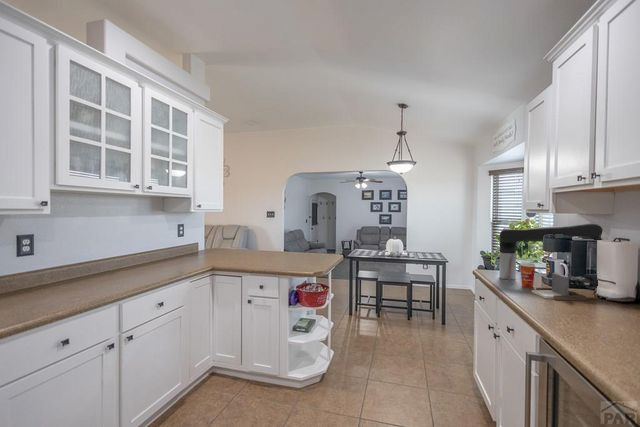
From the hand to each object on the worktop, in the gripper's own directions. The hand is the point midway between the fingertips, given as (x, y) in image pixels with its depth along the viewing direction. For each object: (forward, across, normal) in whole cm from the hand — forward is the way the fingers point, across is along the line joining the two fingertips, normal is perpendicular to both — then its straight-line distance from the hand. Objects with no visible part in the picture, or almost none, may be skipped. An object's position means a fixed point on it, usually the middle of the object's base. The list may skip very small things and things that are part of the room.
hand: (562, 280), depth 164 cm
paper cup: (+8, -18, +8) cm, 21 cm away
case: (+2, 0, +8) cm, 8 cm away
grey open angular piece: (+6, 0, +8) cm, 10 cm away
